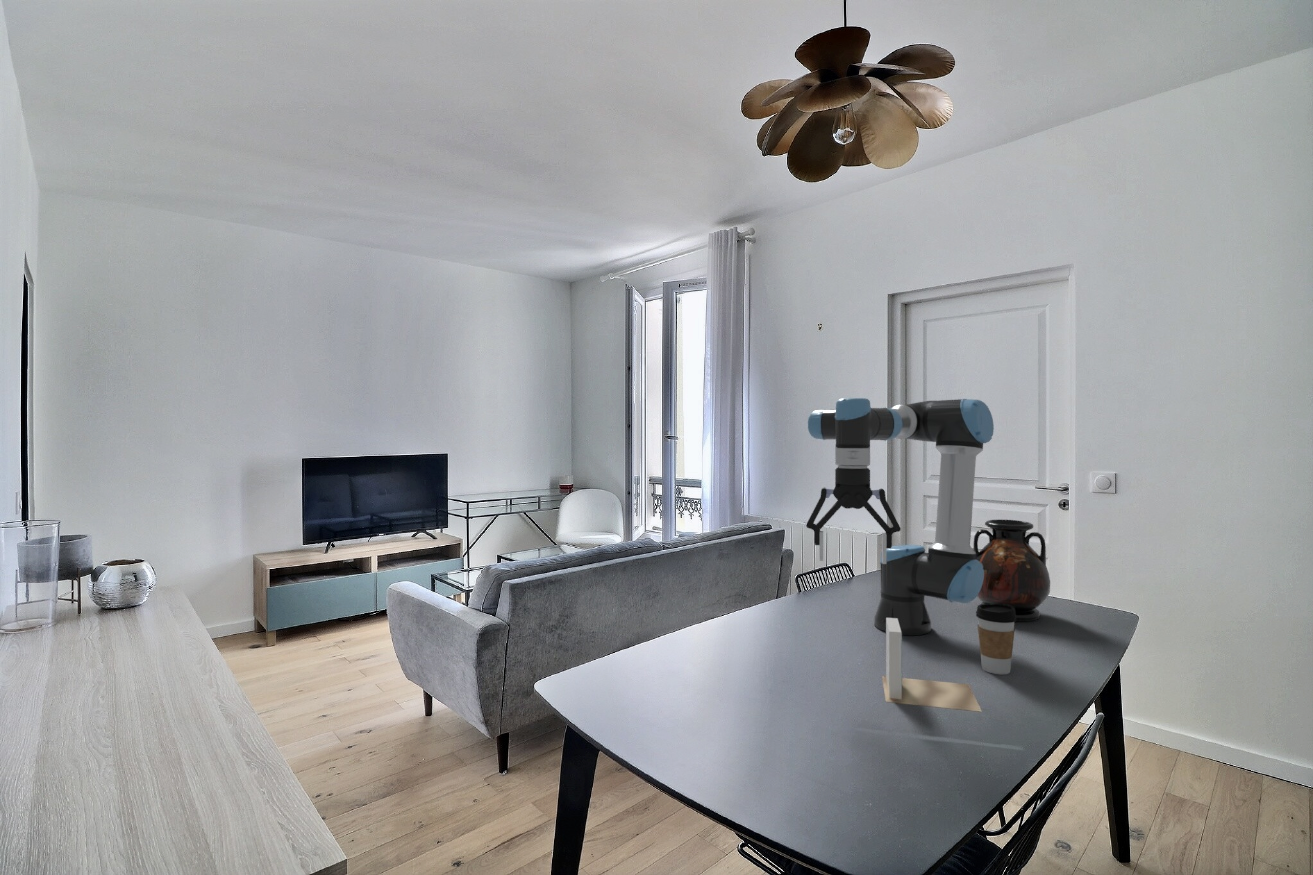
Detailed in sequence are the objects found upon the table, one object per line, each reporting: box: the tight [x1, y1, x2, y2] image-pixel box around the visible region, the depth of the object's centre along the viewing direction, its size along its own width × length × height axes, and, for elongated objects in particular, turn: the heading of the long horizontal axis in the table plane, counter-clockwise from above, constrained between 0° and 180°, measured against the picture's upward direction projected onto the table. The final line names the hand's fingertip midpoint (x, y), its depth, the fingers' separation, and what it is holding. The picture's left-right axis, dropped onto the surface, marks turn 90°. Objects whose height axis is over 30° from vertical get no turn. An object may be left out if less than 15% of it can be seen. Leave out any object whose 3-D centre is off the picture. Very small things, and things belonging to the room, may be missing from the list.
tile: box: [885, 618, 903, 699], centre depth 139 cm, size 3×10×14 cm, turn 164°
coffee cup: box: [975, 604, 1017, 676], centre depth 151 cm, size 8×8×15 cm
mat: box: [881, 675, 983, 713], centre depth 137 cm, size 18×14×1 cm
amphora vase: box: [972, 519, 1051, 622], centre depth 194 cm, size 22×22×28 cm
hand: (852, 561), depth 145 cm, fingers open, 13 cm apart
